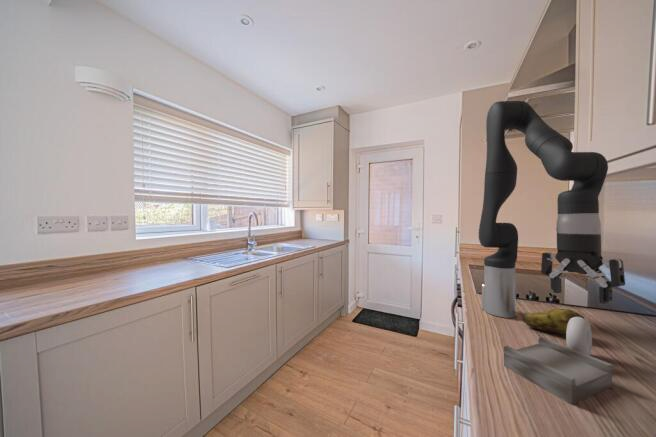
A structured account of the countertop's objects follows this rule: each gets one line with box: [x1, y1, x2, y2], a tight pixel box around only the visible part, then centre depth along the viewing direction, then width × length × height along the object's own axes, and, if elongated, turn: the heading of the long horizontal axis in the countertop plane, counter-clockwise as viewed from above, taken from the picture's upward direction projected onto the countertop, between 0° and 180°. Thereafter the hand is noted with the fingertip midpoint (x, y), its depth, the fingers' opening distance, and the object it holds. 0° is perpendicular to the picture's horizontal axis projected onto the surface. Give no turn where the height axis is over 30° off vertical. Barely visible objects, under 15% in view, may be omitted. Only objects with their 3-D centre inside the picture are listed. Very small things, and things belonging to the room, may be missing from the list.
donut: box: [565, 317, 593, 356], centre depth 57 cm, size 10×4×10 cm, turn 124°
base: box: [503, 336, 613, 405], centre depth 51 cm, size 12×14×4 cm
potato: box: [523, 308, 586, 334], centre depth 70 cm, size 8×13×8 cm, turn 28°
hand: (579, 297), depth 57 cm, fingers open, 8 cm apart
